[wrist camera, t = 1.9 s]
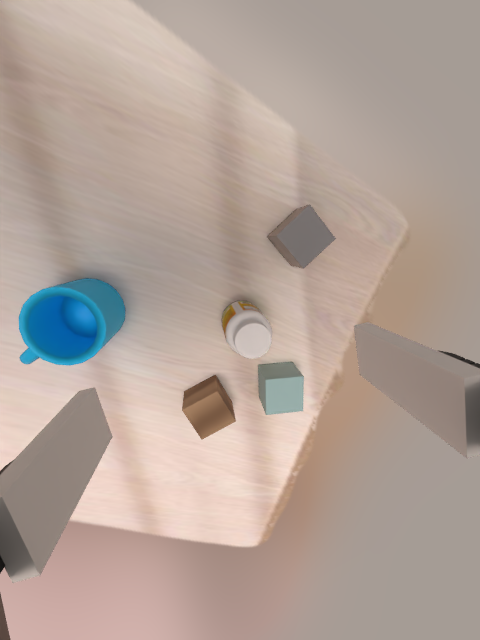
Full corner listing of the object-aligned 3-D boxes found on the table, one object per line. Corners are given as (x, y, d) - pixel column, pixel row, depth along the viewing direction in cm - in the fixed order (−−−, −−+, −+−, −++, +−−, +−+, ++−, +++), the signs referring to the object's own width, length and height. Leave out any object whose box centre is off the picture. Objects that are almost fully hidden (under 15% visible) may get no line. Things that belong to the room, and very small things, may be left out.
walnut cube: (184, 391, 42) (182, 410, 37) (215, 374, 42) (217, 391, 37) (201, 417, 43) (201, 439, 38) (231, 401, 43) (235, 421, 38)
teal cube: (258, 364, 42) (265, 379, 37) (291, 361, 43) (303, 376, 38) (258, 396, 44) (266, 414, 39) (291, 392, 44) (303, 410, 39)
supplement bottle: (230, 344, 41) (238, 373, 32) (215, 309, 39) (219, 328, 30) (266, 329, 41) (285, 353, 32) (252, 293, 40) (268, 308, 30)
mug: (93, 264, 36) (63, 269, 28) (139, 315, 38) (123, 332, 31) (18, 324, 37) (-31, 345, 29) (68, 370, 39) (35, 402, 31)
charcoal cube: (266, 236, 38) (276, 235, 33) (295, 209, 38) (309, 204, 33) (290, 265, 39) (303, 268, 35) (319, 239, 39) (335, 238, 34)
